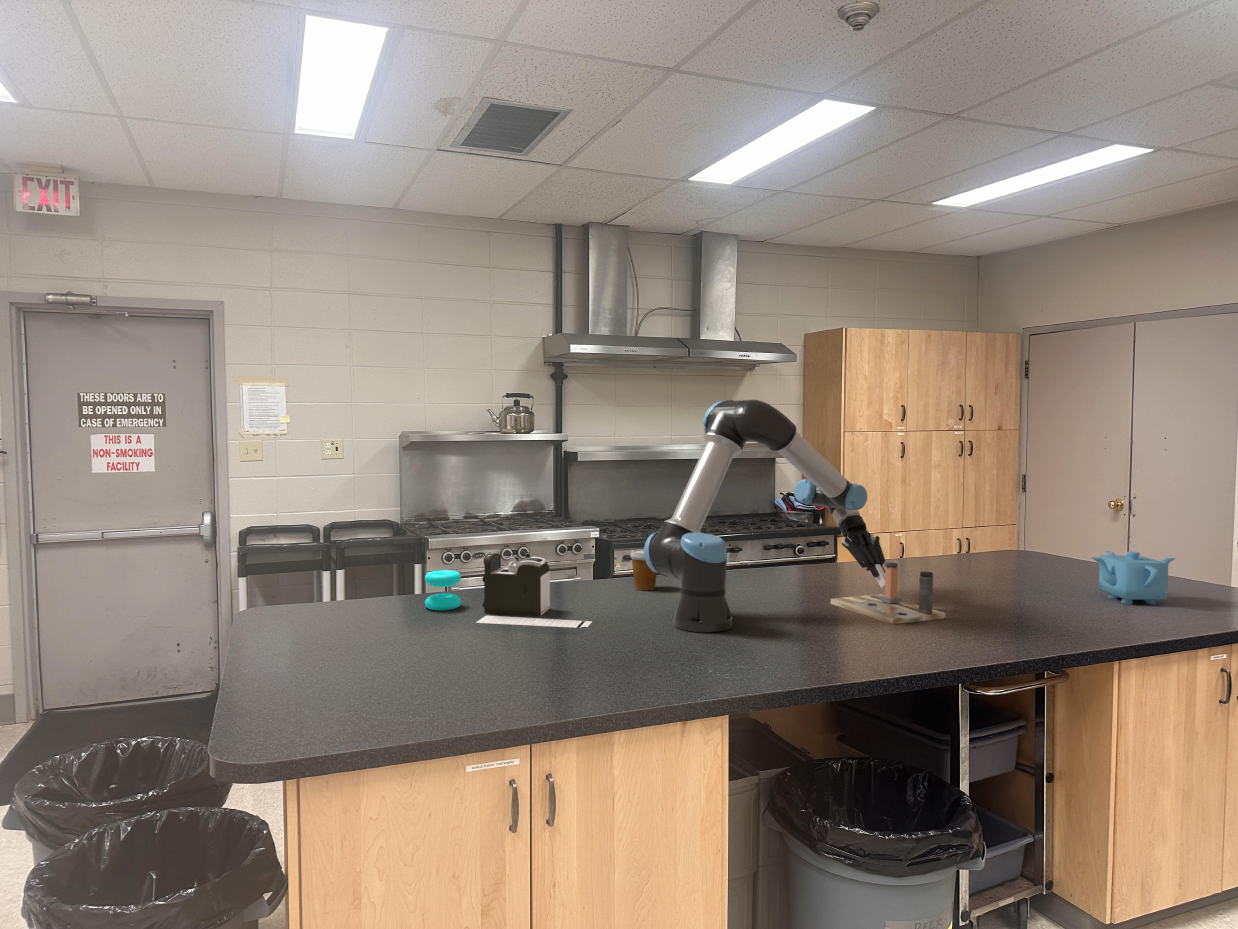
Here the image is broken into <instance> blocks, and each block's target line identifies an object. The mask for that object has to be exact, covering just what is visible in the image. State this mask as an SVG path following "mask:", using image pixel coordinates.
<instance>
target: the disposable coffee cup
mask: <svg viewBox="0 0 1238 929" xmlns="http://www.w3.org/2000/svg"><path fill="white" fill-rule="evenodd" d="M629 557H630V558H631V564H632V573H633V574H632V575H633V582H634V589H635V588H636V589H639V590H638V591H641V590H650V591H654V590H655V589H656V583H657V582H656V581H657V574H658V573H656V572H654V571H652V570H651V569H650V568H649V567H648V565H647V563H646V560H645V557H644V548H642V549H639V548H638V549H633V550H631V553H630V554H629ZM636 589H635V590H636Z"/></svg>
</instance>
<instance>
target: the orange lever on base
mask: <svg viewBox="0 0 1238 929" xmlns="http://www.w3.org/2000/svg"><path fill="white" fill-rule="evenodd" d="M898 566H899V565H898V563H897V562H893V561H892V562H891V561H890V562H889V561H888V562H885V566H884V570H885V588H884V595H885V596H881V597H880V601H884V602H887V603H899V602H901V600H902V597H898V578H899V577H898V576H899V575H898V574H899V573H898V570H899V567H898Z"/></svg>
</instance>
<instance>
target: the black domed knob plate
mask: <svg viewBox="0 0 1238 929" xmlns="http://www.w3.org/2000/svg"><path fill="white" fill-rule="evenodd" d="M854 604H856V605H859V606H862V607H865V608H869V609H872V610H875V611H878V612H881V613H884V614H887V615H890V616H893V617H897V618H900V619H903V620H907V619H916V618H922V616H919V615H916V614H913V613H909V612H906V611H903V610H900V609H896V608H893V607H890V606H887V605H883V604H880V603H877V602H874V601H864V602H854Z"/></svg>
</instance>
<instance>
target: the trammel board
mask: <svg viewBox="0 0 1238 929" xmlns="http://www.w3.org/2000/svg"><path fill="white" fill-rule="evenodd" d="M918 589H919V592H918V593H919V594H918V595H919V596H918V598H919V599H918V604H915V603H912V602H910V601H905V600H902V599H901V602H899V603H887V602H884V601H880V597H881V596H885V594H881V593H877V594H876V593H875V594H868V595H867V594H865V595H855V596H845V597H843V596H842V597H836V598H835V597H834V598H833V597H832V598H830V605H833V606H836V607H840V608H843V609H845V610H848V611H851V612H854V613H857V614H860V615H863V616H866V617H869V618H872V617H873V618H872V619H875V620H879V621H881V620H882V621H881V622H884V621H885V622H884V623H887V624H890V623H891V624H890V625H899V623H900V624H907V623H916V622H917V623H918V622H926V620H927V621H934V620H935V621H936V620H943V619H944V618H945V619H946V612H943V611H939V610H936V609H933V606H934V605H933V603H934V602H933V600H934V599H933V598H934V596H933V595H934V572H932V571H920V573H919V588H918ZM864 601H874V602H877V603H880V604H883V605H887V606H890V607H893V608H896V609H900V610H903V611H906V612H909V613H913V614H916V615H919V616H922V618H916V619H907V620H903V619H900V618H897V617H893V616H890V615H887V614H884V613H881V612H878V611H875V610H872V609H869V608H865V607H862V606H859V605H856V604H854V602H864Z"/></svg>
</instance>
